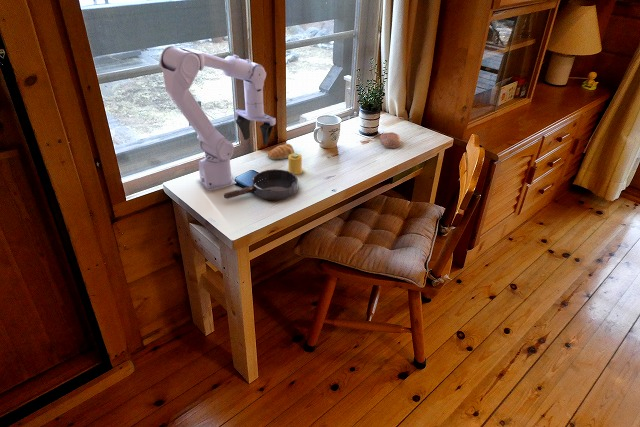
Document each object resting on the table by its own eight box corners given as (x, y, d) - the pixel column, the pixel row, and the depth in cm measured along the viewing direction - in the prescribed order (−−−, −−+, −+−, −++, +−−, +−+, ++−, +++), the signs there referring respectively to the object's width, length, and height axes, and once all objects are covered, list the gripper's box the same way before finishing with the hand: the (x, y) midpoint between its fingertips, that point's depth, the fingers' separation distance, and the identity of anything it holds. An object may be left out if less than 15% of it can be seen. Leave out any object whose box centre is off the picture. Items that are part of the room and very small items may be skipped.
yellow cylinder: (292, 176, 155) (292, 158, 152) (286, 171, 159) (285, 153, 155) (304, 173, 157) (304, 155, 154) (297, 168, 161) (297, 150, 157)
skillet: (265, 206, 140) (264, 195, 138) (245, 185, 150) (244, 175, 148) (305, 194, 146) (305, 184, 144) (284, 175, 156) (284, 165, 154)
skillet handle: (225, 200, 139) (224, 195, 138) (222, 197, 140) (222, 192, 139) (258, 191, 144) (258, 186, 143) (256, 188, 145) (255, 183, 144)
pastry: (274, 163, 163) (274, 153, 161) (263, 156, 168) (263, 146, 165) (296, 156, 168) (296, 146, 166) (285, 149, 173) (285, 140, 170)
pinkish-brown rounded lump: (373, 141, 180) (382, 144, 173) (380, 126, 179) (389, 129, 172) (389, 148, 183) (398, 152, 176) (396, 134, 182) (405, 137, 175)
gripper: (280, 101, 149) (281, 141, 156) (242, 93, 154) (245, 132, 162) (268, 108, 143) (269, 149, 151) (229, 99, 149) (232, 139, 156)
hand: (256, 141), depth 156 cm, fingers open, 7 cm apart
